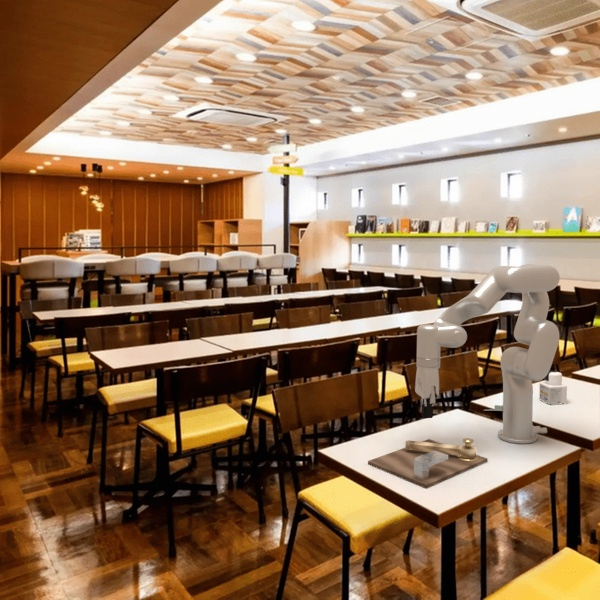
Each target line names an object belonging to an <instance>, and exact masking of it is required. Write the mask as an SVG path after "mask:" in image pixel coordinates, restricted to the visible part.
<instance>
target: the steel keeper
mask: <svg viewBox="0 0 600 600" xmlns="http://www.w3.org/2000/svg"><path fill="white" fill-rule="evenodd" d="M447 459H448V455H447V454H444V453H441V452H438V451H435V450H434V451H432V452H429V453H426V454H424V455H421V456H418V457H416V458H415V459H414V477H415V478H417V479H420V480H424V479H427V478H429V467H430V466H432V465H435V464H437V463H440V462H442V461H445V460H447Z"/></svg>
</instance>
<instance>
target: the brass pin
mask: <svg viewBox="0 0 600 600" xmlns="http://www.w3.org/2000/svg"><path fill="white" fill-rule="evenodd" d="M462 443H464V445H465V447H466V448H471V446H472V444H473V443H474V439H473V438H468V437H467V438H462ZM477 455H478V454H476V457H475V458H464V457H461V456H459V455H457V458H458V459H460V460H462V461H466V462H474V461H477V460H478V459H479V457H478V456H477Z"/></svg>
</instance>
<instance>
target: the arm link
mask: <svg viewBox="0 0 600 600" xmlns="http://www.w3.org/2000/svg"><path fill="white" fill-rule="evenodd" d="M405 448H406V449H408V450H416V451H425V452H432V451H434V450H435V451H438V452H441V453H444V454H451V455H459V456H461V457H464V458H475V457H476V455H477V447H476V446H475V445H471V448H466V447H465V444H463V445H455V444H448V443H447V444H446V443H445V444H444V443H442V444H438V443H429V442H422V441H417V440H406V441H405Z"/></svg>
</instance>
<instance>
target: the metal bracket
mask: <svg viewBox="0 0 600 600" xmlns="http://www.w3.org/2000/svg"><path fill="white" fill-rule="evenodd" d="M483 411H489V412H490V411H492V412H493V411H497V412H498V411H499V412H500V411H501V412H503V404H502V405H498V404H495V405H494V409H483Z"/></svg>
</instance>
